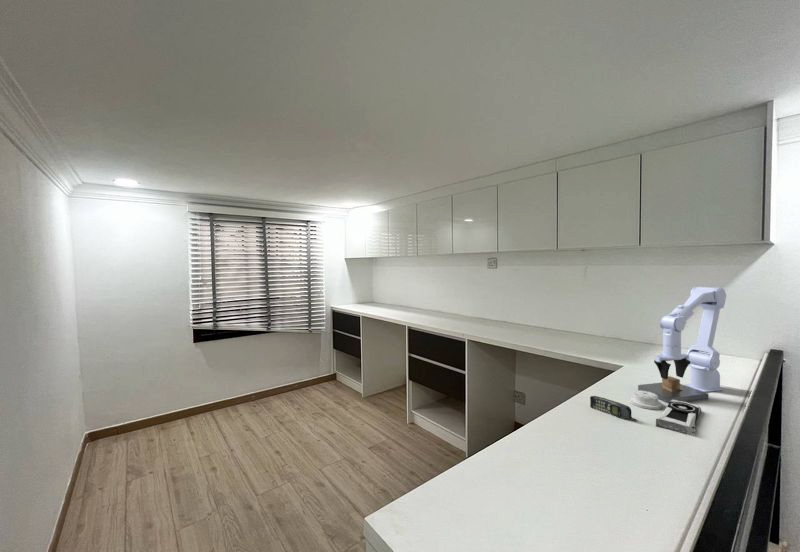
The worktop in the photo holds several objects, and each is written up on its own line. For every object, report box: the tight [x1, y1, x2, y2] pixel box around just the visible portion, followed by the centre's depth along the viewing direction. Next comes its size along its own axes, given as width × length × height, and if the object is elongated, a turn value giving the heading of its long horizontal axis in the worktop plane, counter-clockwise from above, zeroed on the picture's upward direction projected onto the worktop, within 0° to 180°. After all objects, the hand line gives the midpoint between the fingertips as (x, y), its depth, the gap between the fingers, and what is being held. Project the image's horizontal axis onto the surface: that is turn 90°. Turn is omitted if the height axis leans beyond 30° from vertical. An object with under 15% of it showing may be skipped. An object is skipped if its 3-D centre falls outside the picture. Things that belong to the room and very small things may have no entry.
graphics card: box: [655, 400, 702, 437], centre depth 114 cm, size 10×3×25 cm
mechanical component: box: [629, 389, 663, 410], centre depth 127 cm, size 10×4×10 cm
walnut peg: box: [661, 375, 681, 392], centre depth 135 cm, size 4×4×7 cm
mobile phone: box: [589, 395, 637, 422], centre depth 120 cm, size 5×3×15 cm
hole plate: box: [637, 382, 709, 405], centre depth 134 cm, size 18×14×2 cm
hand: (672, 377), depth 134 cm, fingers open, 7 cm apart
